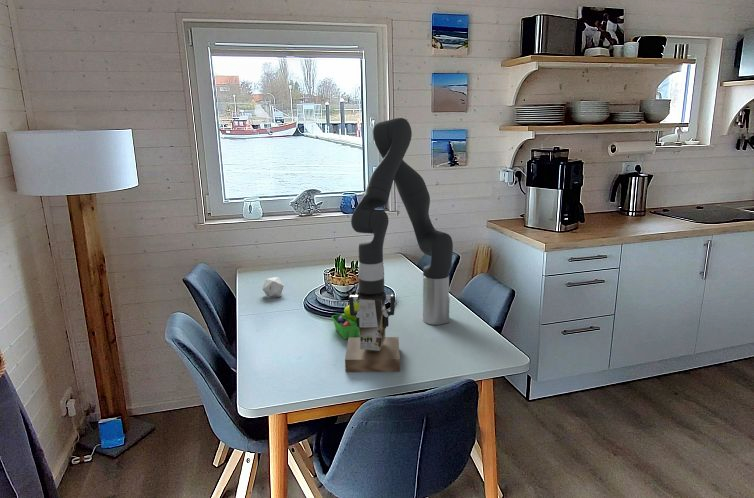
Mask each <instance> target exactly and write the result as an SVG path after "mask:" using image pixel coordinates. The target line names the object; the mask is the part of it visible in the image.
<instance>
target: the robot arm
mask: <svg viewBox="0 0 754 498" xmlns="http://www.w3.org/2000/svg"><path fill="white" fill-rule="evenodd" d="M412 132H413V131H412V128H411V125H410V122H409V121H408V120H407V119H406V118H404V117H397V118H392V119H387V120H383V121H380V122H377V123H376V124H374V125H373V128H372V136H373V137H372V138H373V141H374V143H375V146H376V148H377V150H378V152H379V154H380V156H381V158H382V160H381V161H380V162H379V163H378V164H377V166H376V167H375V168H374V170H373V171H372V173H371V175H370V176H369V179H368V182H367V185H366V189H365V193H364V195H363V196H362V198H361V200H360V201H359V203H358V204H357V206H356V207H355V208H354V211H353V213H352V215H351V218H350V219H351V221H350V222H351V223H350V224H351V228H352V229H353V230H354V232H356V233H358V234H373V237H372V239H367V240H363V241H360V243H359V244H358V269H357V270H358V272H357V273H358V274H357V276H358V294H355V295H354V294H350V295H348V305H349V307H350V315H351V316H356V318H357V327H359V309H358V311H355V309H354V303H355V302H356V301H357V300H358V301H359V298H360V297H361V296H371V295H380V296H382V303H383V302H384V301H386V300H387V302H388V303H390V308H389V310H388V309H387V308H386V305H385V306H384V305H383V306H382V313H383V315H384V328H385V329H387V327H389V317H390V316H394V315H395V305H396V303H395V302H396V295H395V293H391V294H386V292H384V290H385V266H384V254H383V252H384V249H383V248H384V242H385V238H386V234H387V231H388V226H389V217H388V214H387V211H385V210H383V209H380V208H383V207H386V205H387V204H388V202H389V199H390V194H391V190H392V187H393V184H395V186H396V189H397V192H398V194H399V197H400V200H401V201H402V204H403V206H404V207H405V210H406V213H407V216H408V217H409V221H410V222H411V225H412V228H413V231H414V235H415V238H416V241H417V245H418V248H419V250H420V251H421V252H422V253H423V254H425V255H426V256H429V257H430V259H431V260H430V264H427V265H425V266H423V269H422V321H423V322H424V323H426V324H429V325H435V326H436V325H437V326H438V325H444V324H449V323H450V303H451V302H450V270H452V269H451V268H452V265H453V252H454V250H453V249H454V244H453V243H454V242H453V239H452V237H451V235H450V234H448V233H446V232H443V231H440V230H437V229H435V227H434V224H433V223H432V220H431V217H430V214H429V213H430V212H429V211H430V204H431V196H430V193H429V190H428V187H427V185H426V183H425V182H426V181H425V179H424V178H423V177H422V175H420V173H418V171H416V170H415V169H414V168H413V167H411V166H410V165H409V164H408V163H407V162H405V161H404V158H405V155H406V153H407V151H408V149H409V147H410V144H411V141H412V136H413V135H412ZM393 182H394V183H393ZM359 329H360V327H359Z"/></svg>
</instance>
